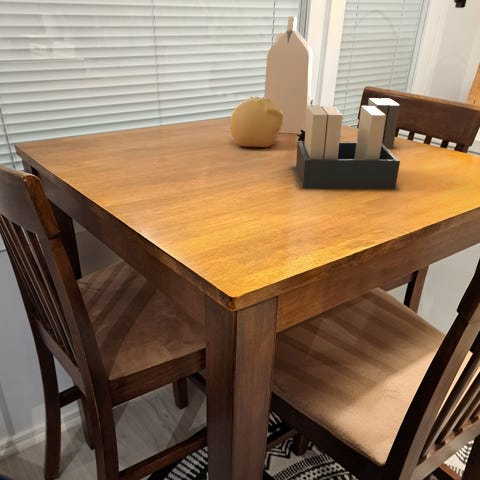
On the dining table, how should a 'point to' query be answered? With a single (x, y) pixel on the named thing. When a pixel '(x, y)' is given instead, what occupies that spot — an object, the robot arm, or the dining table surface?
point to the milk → (290, 77)
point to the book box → (347, 169)
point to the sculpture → (256, 122)
